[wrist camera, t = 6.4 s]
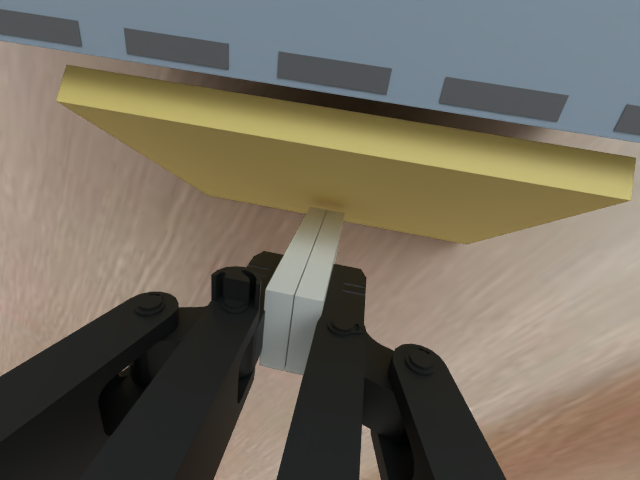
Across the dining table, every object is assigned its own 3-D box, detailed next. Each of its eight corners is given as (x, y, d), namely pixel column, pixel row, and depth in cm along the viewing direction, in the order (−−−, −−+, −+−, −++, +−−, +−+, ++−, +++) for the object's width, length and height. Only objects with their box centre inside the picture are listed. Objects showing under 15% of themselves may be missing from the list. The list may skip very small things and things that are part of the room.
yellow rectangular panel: (66, 64, 9) (56, 100, 9) (635, 157, 8) (630, 200, 8) (211, 177, 19) (207, 195, 19) (469, 225, 18) (466, 244, 18)
